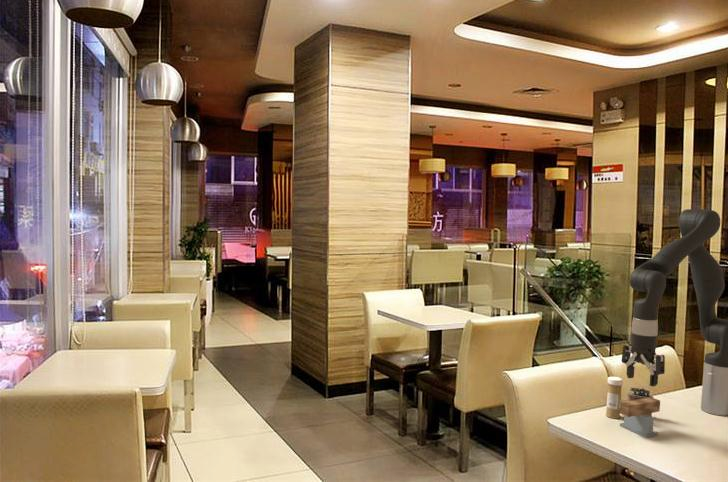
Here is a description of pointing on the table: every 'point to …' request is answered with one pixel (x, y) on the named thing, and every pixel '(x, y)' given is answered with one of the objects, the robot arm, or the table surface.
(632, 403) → the walnut bar
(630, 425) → the fulcrum
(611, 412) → the sprinkles bottle
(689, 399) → the table surface
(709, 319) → the robot arm
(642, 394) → the lighter
